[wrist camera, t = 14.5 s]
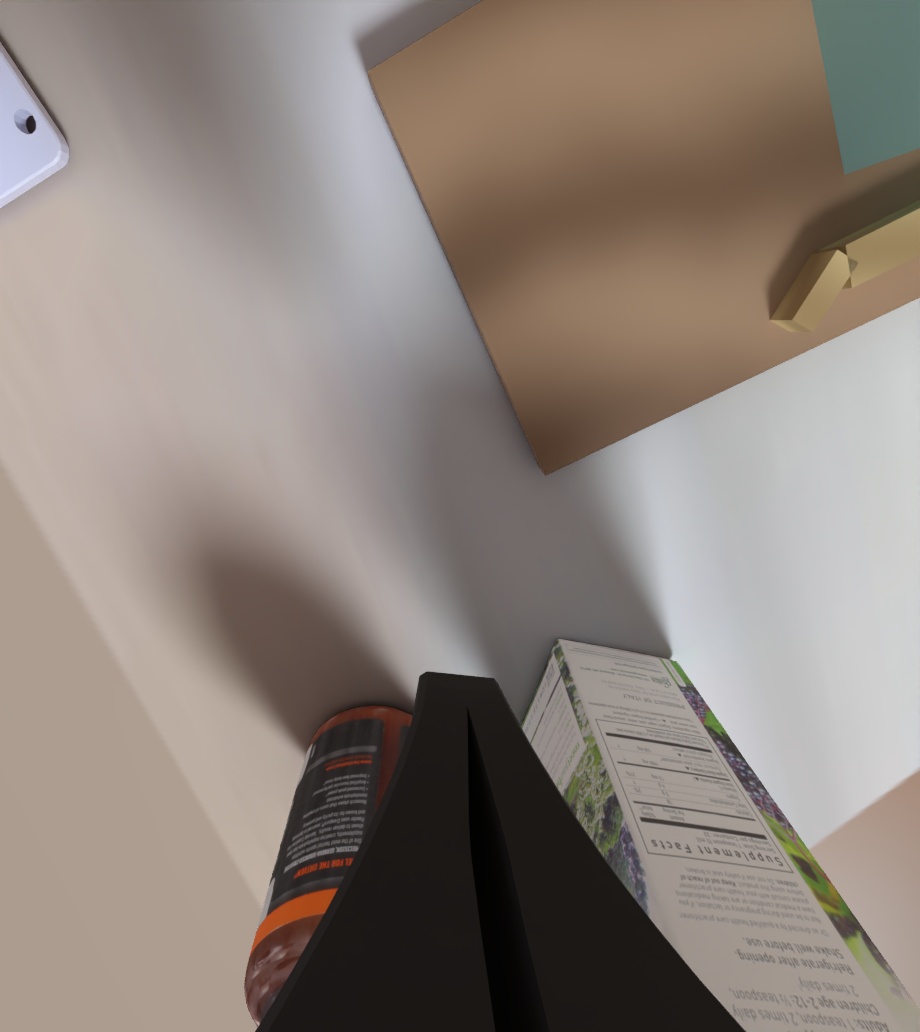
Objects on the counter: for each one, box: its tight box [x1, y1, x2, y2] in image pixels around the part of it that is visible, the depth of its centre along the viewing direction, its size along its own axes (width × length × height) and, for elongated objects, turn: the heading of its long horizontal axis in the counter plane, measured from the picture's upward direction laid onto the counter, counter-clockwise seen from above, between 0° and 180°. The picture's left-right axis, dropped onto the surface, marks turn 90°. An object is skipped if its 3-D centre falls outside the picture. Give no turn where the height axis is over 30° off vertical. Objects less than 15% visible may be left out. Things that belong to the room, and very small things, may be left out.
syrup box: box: [521, 639, 920, 1032], centre depth 15 cm, size 6×6×14 cm
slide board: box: [367, 0, 920, 476], centre depth 12 cm, size 12×18×4 cm, turn 116°
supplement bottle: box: [244, 706, 413, 1027], centre depth 17 cm, size 6×6×11 cm
